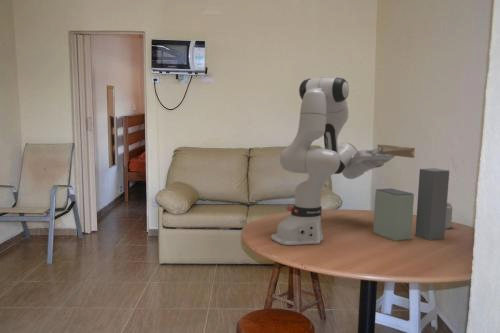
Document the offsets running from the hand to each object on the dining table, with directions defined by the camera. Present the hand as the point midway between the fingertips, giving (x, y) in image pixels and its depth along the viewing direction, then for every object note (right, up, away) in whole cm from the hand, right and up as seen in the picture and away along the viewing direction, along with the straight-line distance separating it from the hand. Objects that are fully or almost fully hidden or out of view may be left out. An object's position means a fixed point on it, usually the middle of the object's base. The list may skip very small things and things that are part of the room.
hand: (384, 148), depth 200 cm
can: (+32, -38, +14) cm, 52 cm away
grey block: (+2, -39, -2) cm, 39 cm away
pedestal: (+19, -39, -3) cm, 44 cm away
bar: (+3, -3, -6) cm, 7 cm away
